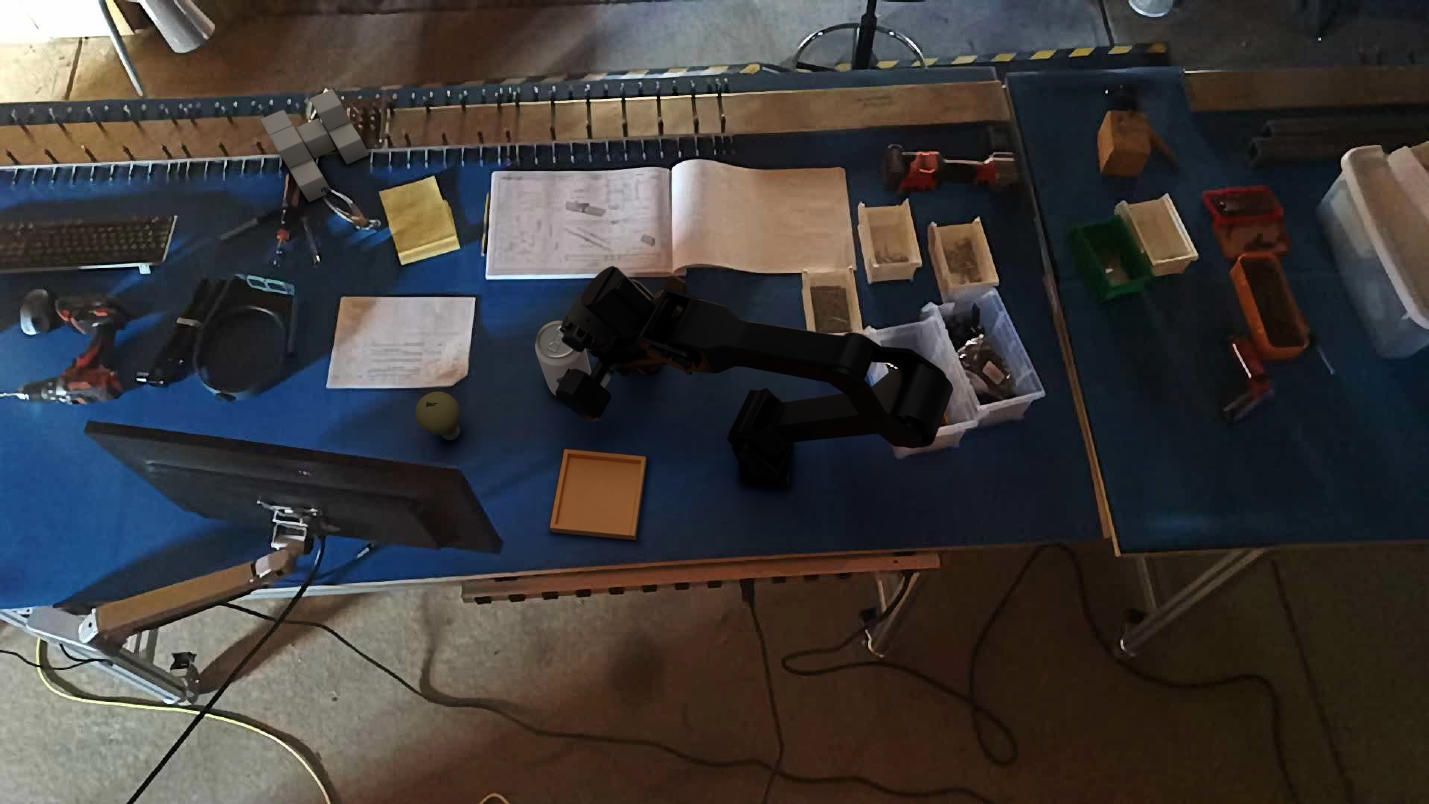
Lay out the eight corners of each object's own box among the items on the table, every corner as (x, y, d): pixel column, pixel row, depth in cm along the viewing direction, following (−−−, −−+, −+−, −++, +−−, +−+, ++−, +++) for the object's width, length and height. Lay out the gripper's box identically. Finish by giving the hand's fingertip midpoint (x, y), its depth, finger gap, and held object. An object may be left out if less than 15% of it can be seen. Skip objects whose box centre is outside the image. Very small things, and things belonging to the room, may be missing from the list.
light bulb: (439, 459, 118) (417, 429, 109) (426, 426, 120) (403, 394, 111) (478, 442, 119) (459, 411, 110) (464, 410, 121) (444, 377, 112)
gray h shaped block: (309, 202, 137) (287, 168, 130) (282, 154, 141) (259, 118, 134) (379, 171, 140) (361, 136, 133) (350, 124, 144) (332, 88, 137)
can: (600, 371, 124) (590, 328, 113) (579, 407, 121) (566, 367, 111) (561, 354, 125) (548, 310, 114) (539, 390, 123) (523, 349, 112)
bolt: (682, 296, 132) (647, 376, 125) (655, 279, 130) (618, 358, 123) (700, 282, 127) (664, 364, 120) (672, 264, 125) (634, 346, 119)
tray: (646, 462, 118) (646, 456, 116) (635, 540, 113) (634, 535, 111) (566, 454, 118) (564, 448, 116) (552, 532, 113) (549, 527, 112)
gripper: (634, 240, 102) (566, 262, 114) (558, 365, 95) (493, 374, 106) (694, 300, 108) (623, 315, 120) (627, 422, 100) (558, 425, 112)
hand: (575, 354), depth 114 cm, fingers open, 9 cm apart
